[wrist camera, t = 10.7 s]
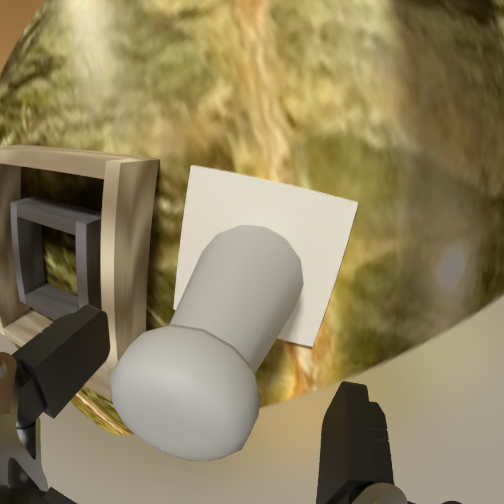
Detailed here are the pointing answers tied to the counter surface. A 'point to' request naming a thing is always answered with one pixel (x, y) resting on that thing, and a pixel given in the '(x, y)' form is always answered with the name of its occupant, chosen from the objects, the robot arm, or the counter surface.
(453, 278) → the counter surface
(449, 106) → the counter surface
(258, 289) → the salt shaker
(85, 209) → the case
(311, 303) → the tile
